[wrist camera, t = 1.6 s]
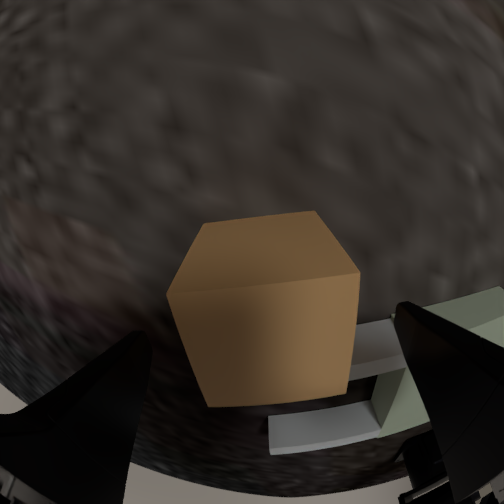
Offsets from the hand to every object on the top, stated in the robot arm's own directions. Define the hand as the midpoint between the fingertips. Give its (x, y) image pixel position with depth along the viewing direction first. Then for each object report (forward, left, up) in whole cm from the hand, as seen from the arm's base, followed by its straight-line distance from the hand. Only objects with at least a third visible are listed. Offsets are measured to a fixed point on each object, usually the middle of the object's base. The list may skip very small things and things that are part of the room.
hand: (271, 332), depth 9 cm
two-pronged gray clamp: (-9, -8, -5) cm, 13 cm away
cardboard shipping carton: (0, 0, -5) cm, 5 cm away
